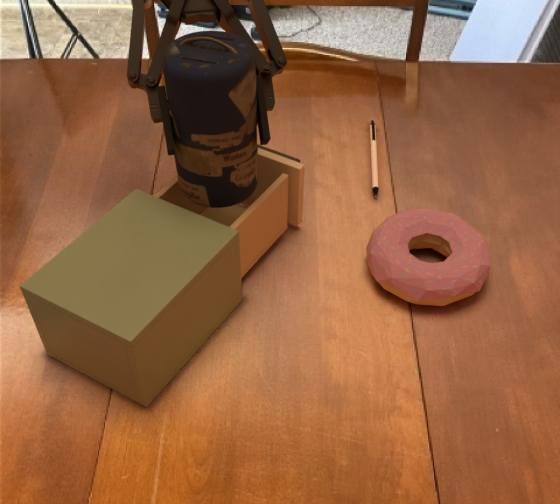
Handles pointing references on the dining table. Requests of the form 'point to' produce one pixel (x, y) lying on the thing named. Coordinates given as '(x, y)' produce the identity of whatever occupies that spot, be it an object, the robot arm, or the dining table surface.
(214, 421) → the dining table surface
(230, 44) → the canister
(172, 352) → the cabinet
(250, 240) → the drawer
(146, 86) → the robot arm
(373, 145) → the pen
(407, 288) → the donut
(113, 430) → the dining table surface
